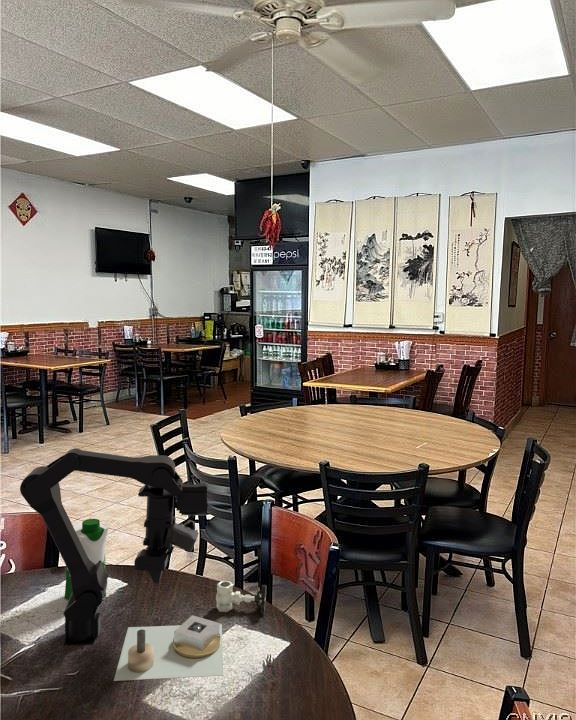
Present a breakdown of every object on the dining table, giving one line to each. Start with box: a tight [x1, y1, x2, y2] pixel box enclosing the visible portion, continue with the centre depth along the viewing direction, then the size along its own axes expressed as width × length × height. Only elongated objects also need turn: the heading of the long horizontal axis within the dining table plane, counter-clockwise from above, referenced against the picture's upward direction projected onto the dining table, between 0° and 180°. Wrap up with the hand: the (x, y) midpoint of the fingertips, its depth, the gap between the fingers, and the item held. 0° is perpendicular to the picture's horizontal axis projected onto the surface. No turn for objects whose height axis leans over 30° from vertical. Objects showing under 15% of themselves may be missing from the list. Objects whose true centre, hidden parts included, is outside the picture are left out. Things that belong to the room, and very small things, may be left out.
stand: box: [128, 630, 154, 673], centre depth 112 cm, size 5×5×7 cm
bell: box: [173, 625, 220, 659], centre depth 119 cm, size 10×10×4 cm
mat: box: [113, 623, 224, 682], centre depth 117 cm, size 21×18×1 cm
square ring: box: [174, 615, 221, 651], centre depth 119 cm, size 7×7×2 cm
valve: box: [215, 580, 267, 615], centre depth 134 cm, size 7×7×12 cm
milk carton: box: [64, 518, 109, 601], centre depth 136 cm, size 9×9×20 cm
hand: (156, 582), depth 123 cm, fingers closed
